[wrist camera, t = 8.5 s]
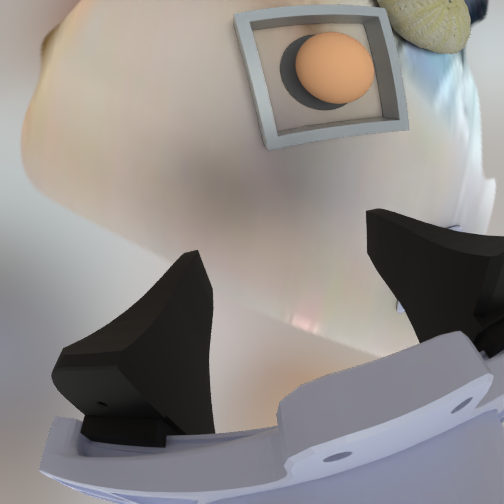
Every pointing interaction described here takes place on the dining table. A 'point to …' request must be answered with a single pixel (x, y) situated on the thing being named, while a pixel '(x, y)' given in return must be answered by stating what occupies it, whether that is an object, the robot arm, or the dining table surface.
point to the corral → (297, 15)
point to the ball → (334, 67)
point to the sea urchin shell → (430, 23)
